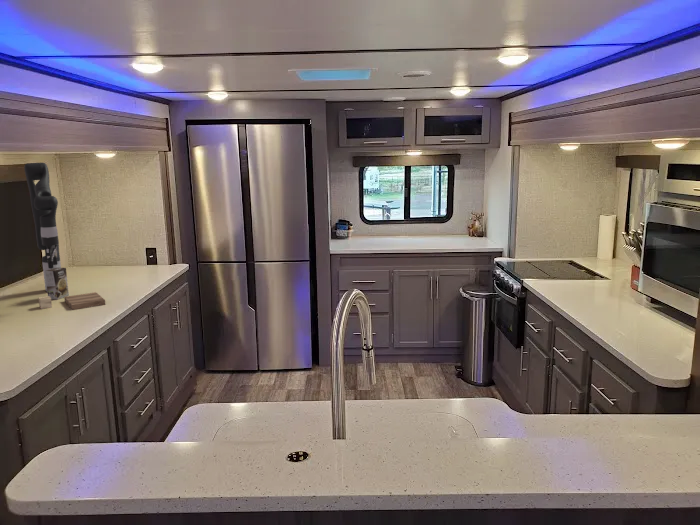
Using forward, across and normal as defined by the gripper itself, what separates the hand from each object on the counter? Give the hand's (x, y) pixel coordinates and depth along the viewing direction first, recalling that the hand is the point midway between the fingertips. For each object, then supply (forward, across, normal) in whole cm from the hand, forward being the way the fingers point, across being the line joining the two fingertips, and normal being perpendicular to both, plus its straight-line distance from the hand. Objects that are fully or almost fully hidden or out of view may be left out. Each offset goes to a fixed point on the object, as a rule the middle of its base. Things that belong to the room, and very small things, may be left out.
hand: (53, 266), depth 283 cm
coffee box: (+22, -20, -4) cm, 30 cm away
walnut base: (+22, -4, +12) cm, 25 cm away
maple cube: (+22, -1, -6) cm, 22 cm away
